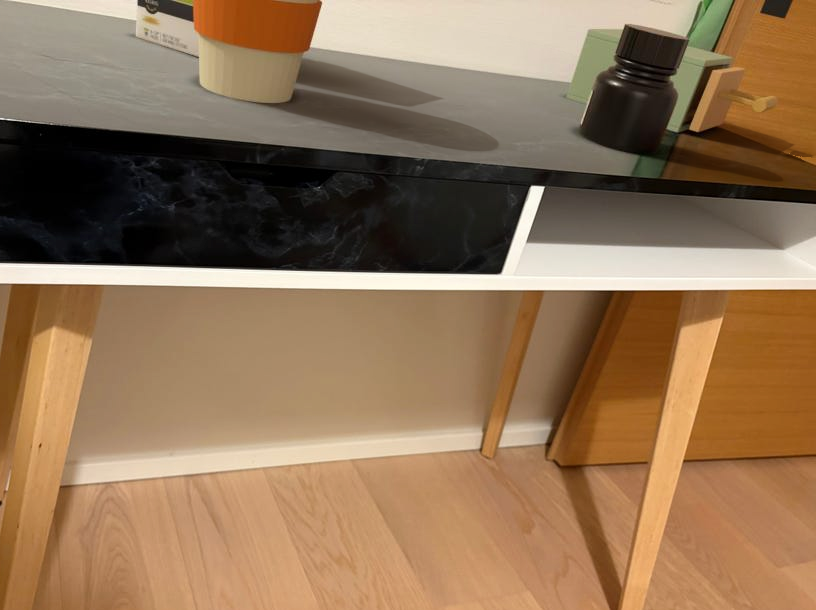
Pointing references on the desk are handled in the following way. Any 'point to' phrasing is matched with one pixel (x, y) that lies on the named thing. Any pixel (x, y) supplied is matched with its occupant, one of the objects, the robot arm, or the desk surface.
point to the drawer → (721, 97)
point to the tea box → (168, 24)
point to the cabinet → (600, 58)
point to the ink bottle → (635, 92)
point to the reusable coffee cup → (253, 46)
